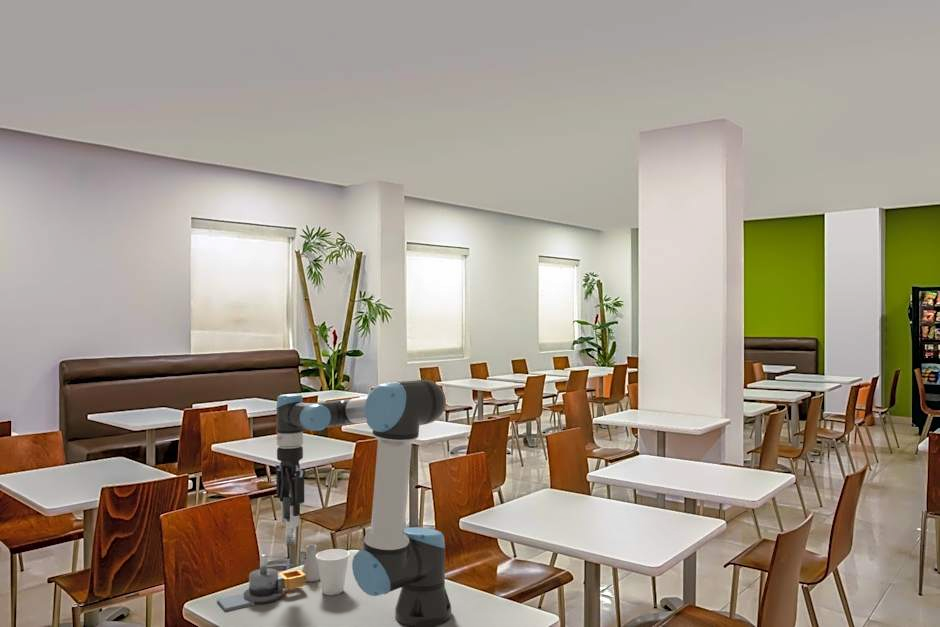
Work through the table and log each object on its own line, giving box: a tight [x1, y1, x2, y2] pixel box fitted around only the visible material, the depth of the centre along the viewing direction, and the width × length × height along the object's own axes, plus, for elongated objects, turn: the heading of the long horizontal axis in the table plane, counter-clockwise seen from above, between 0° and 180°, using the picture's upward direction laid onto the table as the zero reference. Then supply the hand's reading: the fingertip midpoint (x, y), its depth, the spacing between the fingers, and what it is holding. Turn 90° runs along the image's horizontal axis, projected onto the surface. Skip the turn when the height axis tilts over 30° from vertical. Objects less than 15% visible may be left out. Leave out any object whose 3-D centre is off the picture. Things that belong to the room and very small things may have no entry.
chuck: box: [248, 553, 307, 596], centre depth 206 cm, size 16×8×10 cm, turn 124°
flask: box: [301, 544, 321, 583], centre depth 219 cm, size 7×7×10 cm
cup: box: [316, 548, 351, 596], centre depth 208 cm, size 10×10×11 cm
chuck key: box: [283, 494, 297, 547], centre depth 210 cm, size 4×4×14 cm
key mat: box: [216, 592, 255, 612], centre depth 199 cm, size 8×8×1 cm
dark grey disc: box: [243, 588, 284, 605], centre depth 204 cm, size 11×11×2 cm
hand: (290, 524), depth 210 cm, fingers closed on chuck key, 5 cm apart
